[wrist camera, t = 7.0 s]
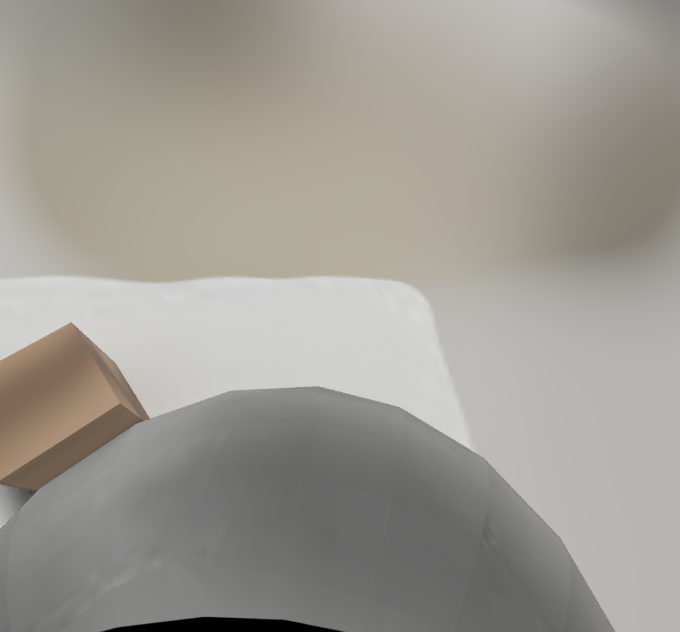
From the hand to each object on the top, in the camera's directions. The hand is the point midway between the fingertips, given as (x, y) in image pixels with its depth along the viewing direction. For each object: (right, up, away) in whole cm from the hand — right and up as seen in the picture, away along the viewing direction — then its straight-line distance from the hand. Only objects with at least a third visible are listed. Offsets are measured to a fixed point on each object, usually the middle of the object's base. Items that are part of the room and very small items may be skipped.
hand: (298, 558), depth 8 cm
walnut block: (-12, -1, +14) cm, 19 cm away
